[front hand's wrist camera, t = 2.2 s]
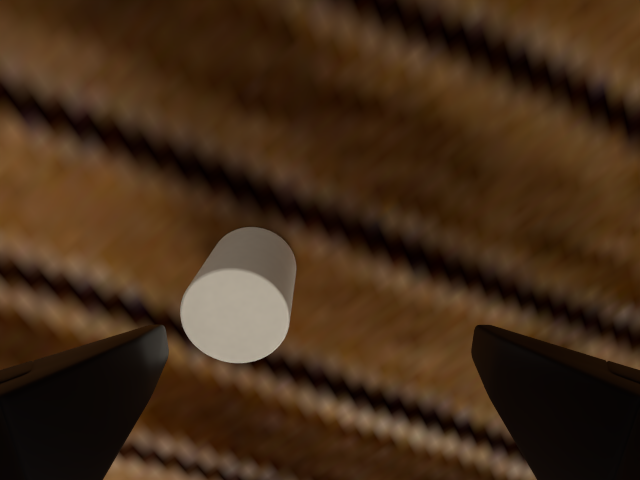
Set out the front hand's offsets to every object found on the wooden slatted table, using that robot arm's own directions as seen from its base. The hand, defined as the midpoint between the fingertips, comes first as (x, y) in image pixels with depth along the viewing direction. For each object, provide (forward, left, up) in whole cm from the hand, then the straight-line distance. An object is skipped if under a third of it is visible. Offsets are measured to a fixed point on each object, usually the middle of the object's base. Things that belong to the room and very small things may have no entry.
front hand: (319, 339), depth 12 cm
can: (-3, -2, -8) cm, 8 cm away
